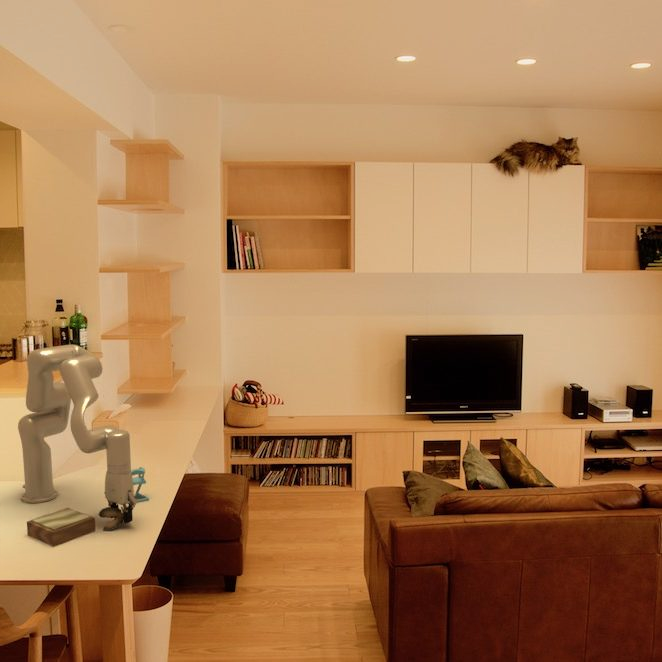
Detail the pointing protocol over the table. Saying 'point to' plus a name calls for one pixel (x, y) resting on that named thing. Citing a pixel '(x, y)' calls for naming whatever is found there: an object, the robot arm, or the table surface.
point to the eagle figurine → (112, 513)
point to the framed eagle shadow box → (60, 526)
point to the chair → (139, 481)
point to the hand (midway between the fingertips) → (121, 519)
